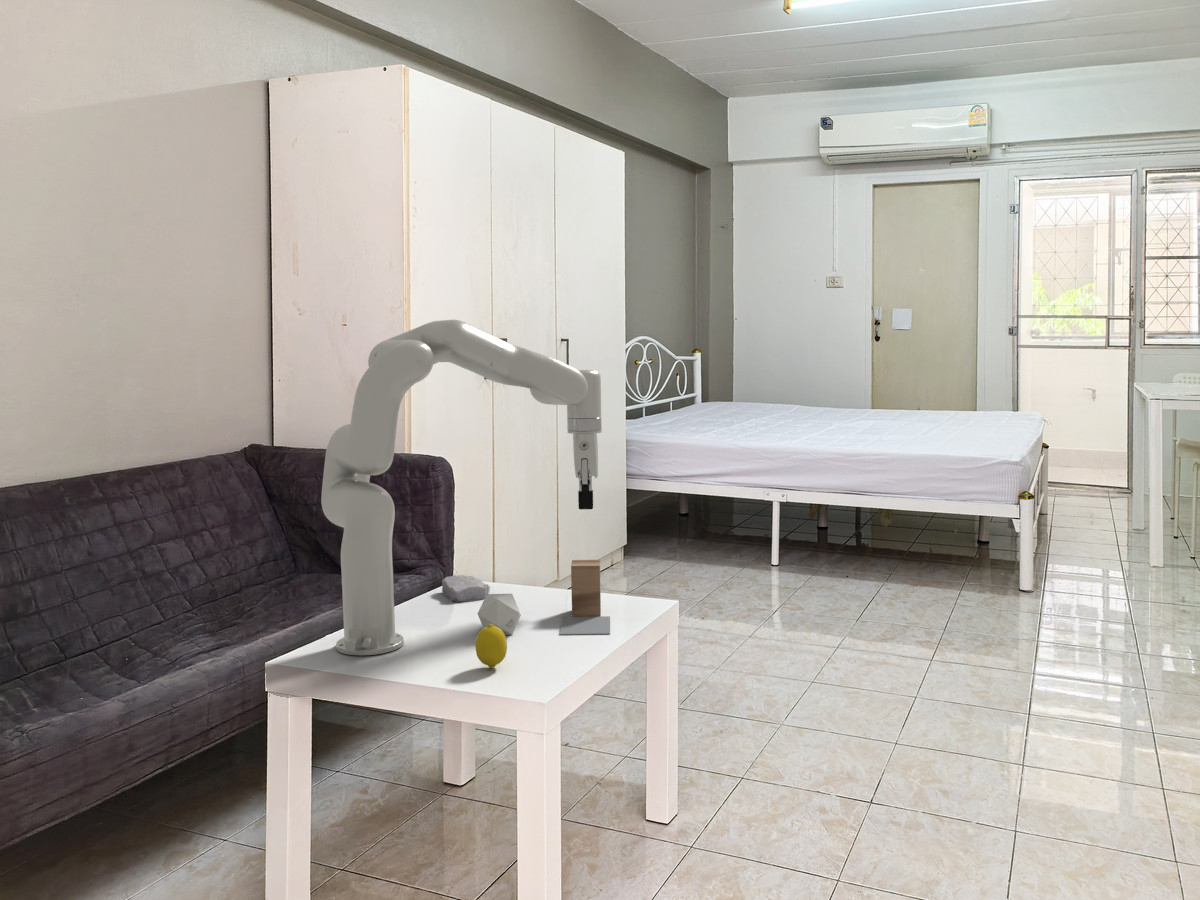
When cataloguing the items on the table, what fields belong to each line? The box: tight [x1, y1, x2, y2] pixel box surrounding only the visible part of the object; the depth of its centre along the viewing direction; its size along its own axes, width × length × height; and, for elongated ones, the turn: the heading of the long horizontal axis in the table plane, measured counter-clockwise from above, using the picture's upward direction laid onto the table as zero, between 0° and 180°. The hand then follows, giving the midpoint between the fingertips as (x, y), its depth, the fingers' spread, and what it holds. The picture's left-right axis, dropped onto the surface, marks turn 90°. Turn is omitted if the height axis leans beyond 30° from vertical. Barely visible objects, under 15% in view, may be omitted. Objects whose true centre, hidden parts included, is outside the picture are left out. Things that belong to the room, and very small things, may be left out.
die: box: [477, 593, 522, 636], centre depth 194 cm, size 8×9×10 cm
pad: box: [559, 615, 611, 636], centre depth 198 cm, size 13×10×1 cm
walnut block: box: [570, 559, 602, 617], centre depth 207 cm, size 6×6×11 cm
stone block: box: [441, 574, 491, 603], centre depth 225 cm, size 12×5×10 cm
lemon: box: [475, 624, 508, 669], centre depth 172 cm, size 6×6×8 cm
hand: (585, 508), depth 216 cm, fingers closed
